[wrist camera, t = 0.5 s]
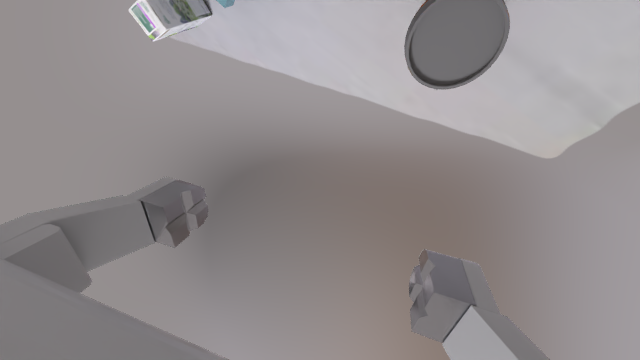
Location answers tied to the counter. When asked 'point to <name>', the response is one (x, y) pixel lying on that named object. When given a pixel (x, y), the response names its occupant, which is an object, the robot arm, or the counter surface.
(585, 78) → the counter surface
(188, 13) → the syrup box
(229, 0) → the cover
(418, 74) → the reusable coffee cup
